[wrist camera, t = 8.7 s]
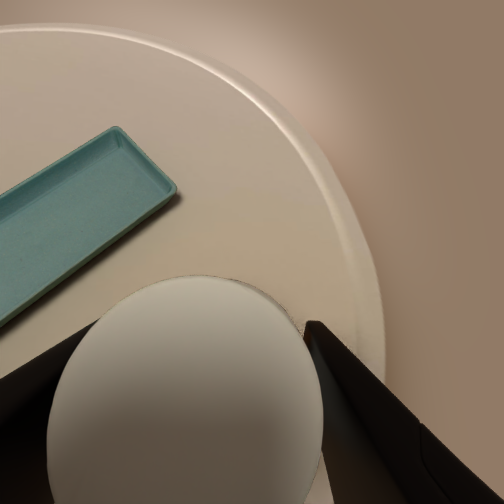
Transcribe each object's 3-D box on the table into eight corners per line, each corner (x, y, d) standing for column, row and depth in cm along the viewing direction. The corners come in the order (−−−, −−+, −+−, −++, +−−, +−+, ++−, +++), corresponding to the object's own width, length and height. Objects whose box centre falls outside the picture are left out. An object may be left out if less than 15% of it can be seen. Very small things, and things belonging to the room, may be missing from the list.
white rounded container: (299, 368, 13) (432, 458, 4) (210, 440, 12) (101, 803, 3) (241, 283, 15) (239, 199, 5) (155, 341, 14) (-42, 365, 4)
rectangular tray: (126, 138, 24) (113, 118, 22) (185, 200, 22) (178, 185, 20) (-170, 331, 18) (-231, 332, 16) (-120, 435, 17) (-181, 453, 14)
